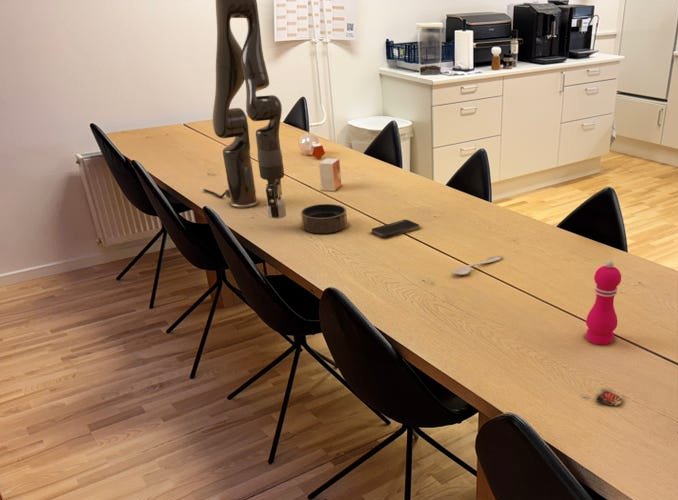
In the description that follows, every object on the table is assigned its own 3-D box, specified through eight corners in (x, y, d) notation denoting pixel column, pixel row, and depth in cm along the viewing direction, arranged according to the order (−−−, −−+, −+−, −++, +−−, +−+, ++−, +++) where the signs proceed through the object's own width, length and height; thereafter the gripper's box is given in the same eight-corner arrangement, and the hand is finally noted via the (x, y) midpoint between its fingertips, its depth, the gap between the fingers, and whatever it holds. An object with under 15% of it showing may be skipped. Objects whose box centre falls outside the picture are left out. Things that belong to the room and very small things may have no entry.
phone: (370, 229, 223) (405, 219, 231) (370, 232, 223) (406, 222, 232) (384, 235, 218) (420, 225, 226) (384, 239, 218) (420, 228, 227)
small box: (334, 191, 262) (332, 164, 257) (321, 190, 263) (318, 163, 258) (341, 185, 269) (339, 158, 264) (328, 184, 270) (326, 157, 264)
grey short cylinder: (264, 215, 225) (263, 201, 222) (280, 211, 228) (278, 197, 226) (274, 220, 221) (272, 206, 219) (289, 216, 225) (288, 202, 222)
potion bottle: (308, 154, 315) (321, 165, 305) (291, 144, 308) (304, 155, 298) (318, 137, 313) (332, 147, 303) (301, 126, 306) (315, 137, 296)
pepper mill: (580, 331, 165) (589, 254, 155) (609, 330, 166) (620, 254, 156) (588, 346, 159) (598, 267, 149) (618, 345, 160) (630, 266, 150)
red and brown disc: (595, 402, 139) (595, 400, 139) (602, 389, 143) (602, 387, 143) (617, 408, 138) (618, 406, 137) (624, 395, 141) (624, 393, 141)
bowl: (294, 226, 229) (292, 210, 226) (330, 216, 237) (329, 201, 234) (319, 238, 219) (317, 221, 217) (356, 227, 228) (355, 211, 225)
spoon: (447, 275, 194) (447, 270, 193) (494, 255, 207) (495, 250, 206) (458, 279, 192) (458, 274, 191) (505, 259, 204) (505, 254, 203)
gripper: (262, 156, 222) (269, 206, 230) (254, 168, 209) (261, 221, 218) (286, 156, 222) (291, 206, 231) (279, 168, 210) (285, 221, 218)
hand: (277, 213), depth 224 cm, fingers closed on grey short cylinder, 6 cm apart
